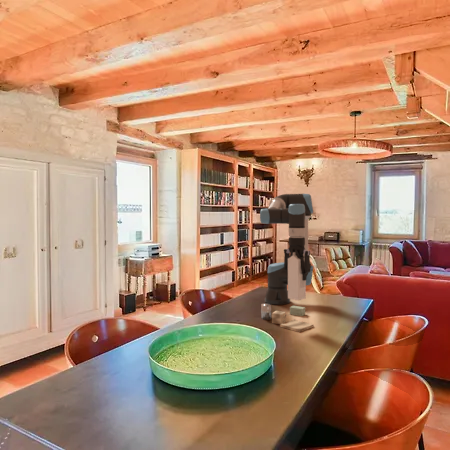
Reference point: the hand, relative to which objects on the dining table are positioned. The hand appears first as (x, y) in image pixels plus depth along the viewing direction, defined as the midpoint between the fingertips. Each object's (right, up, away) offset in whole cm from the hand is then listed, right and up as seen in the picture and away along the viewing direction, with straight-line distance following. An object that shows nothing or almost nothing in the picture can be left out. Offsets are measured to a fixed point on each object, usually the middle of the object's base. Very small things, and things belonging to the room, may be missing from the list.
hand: (296, 286), depth 174 cm
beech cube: (-7, -19, +8) cm, 22 cm away
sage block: (+5, -19, +22) cm, 29 cm away
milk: (0, -6, 0) cm, 6 cm away
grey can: (-13, -19, +15) cm, 28 cm away
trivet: (0, -19, +1) cm, 19 cm away
